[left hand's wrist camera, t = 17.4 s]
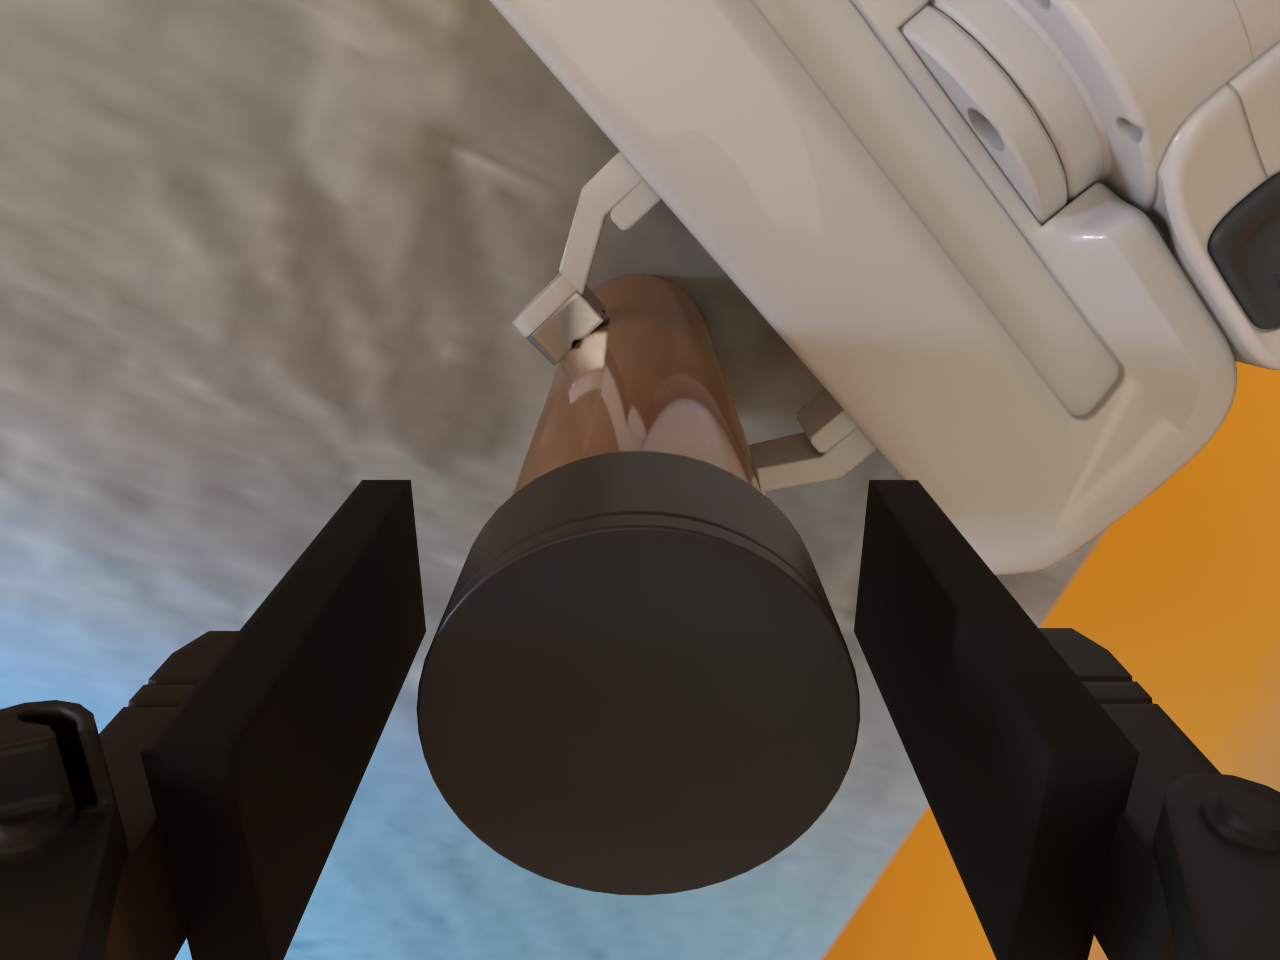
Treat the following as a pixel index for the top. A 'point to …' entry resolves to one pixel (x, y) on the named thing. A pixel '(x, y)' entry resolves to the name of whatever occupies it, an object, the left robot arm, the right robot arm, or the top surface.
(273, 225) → the top surface
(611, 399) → the brown cylinder
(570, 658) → the lid
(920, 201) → the right robot arm
